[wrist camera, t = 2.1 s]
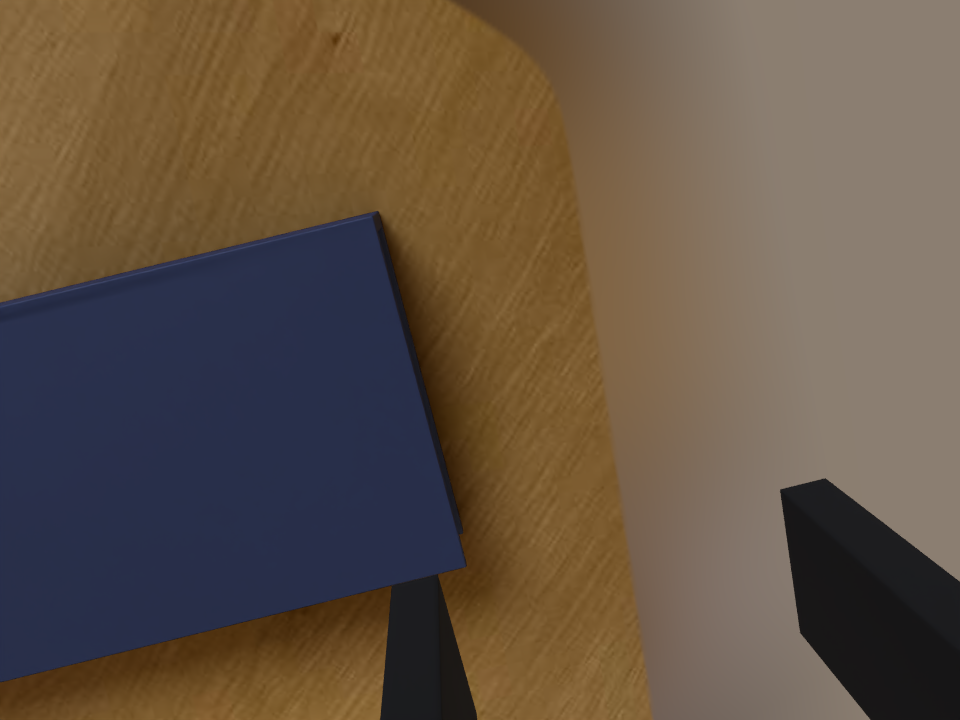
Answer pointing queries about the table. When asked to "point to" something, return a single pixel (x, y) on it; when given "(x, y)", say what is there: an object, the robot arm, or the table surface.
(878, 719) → the robot arm
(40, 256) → the table surface
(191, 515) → the book
